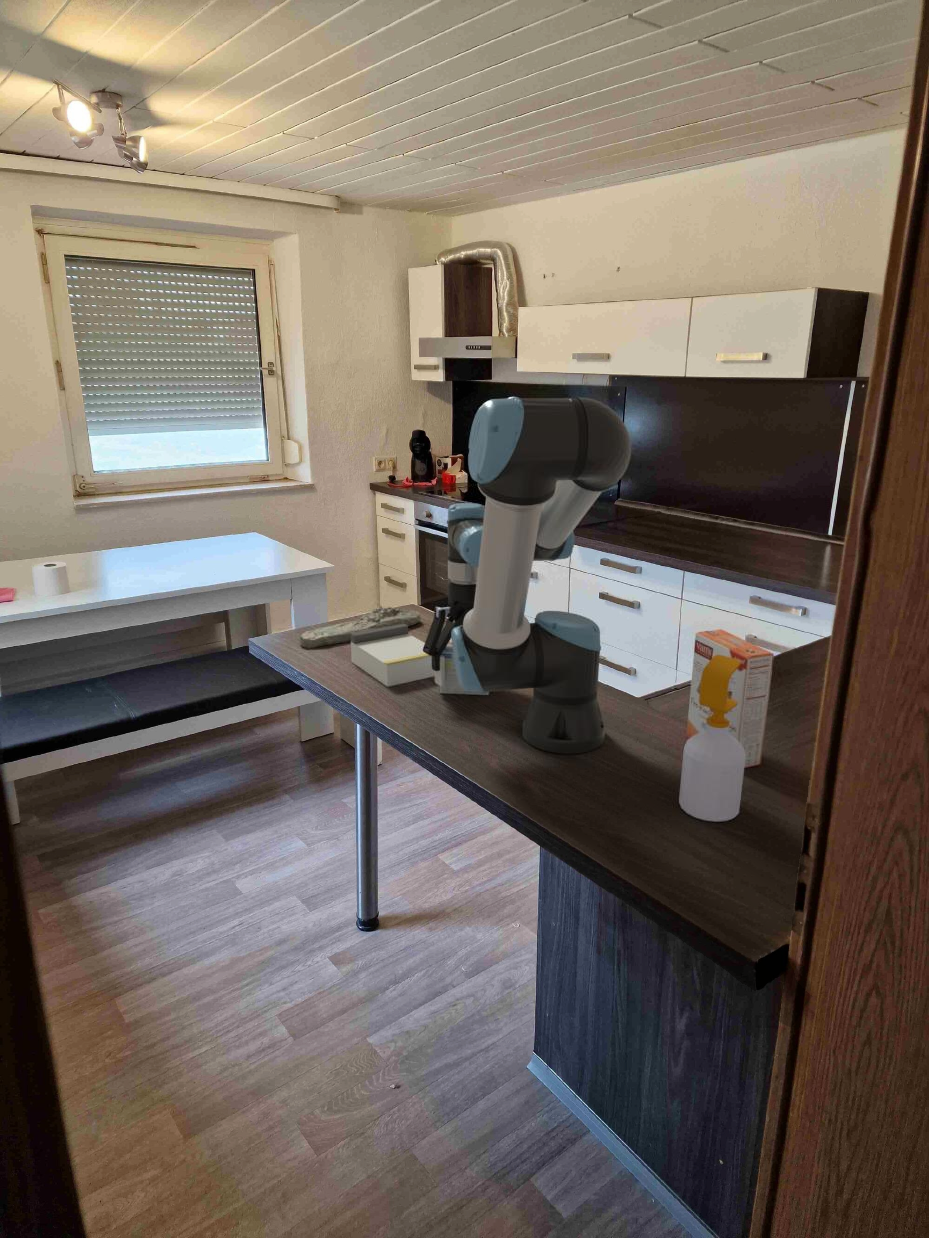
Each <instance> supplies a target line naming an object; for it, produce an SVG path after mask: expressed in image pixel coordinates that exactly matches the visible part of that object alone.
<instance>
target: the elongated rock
mask: <svg viewBox="0 0 929 1238" xmlns="http://www.w3.org/2000/svg"><path fill="white" fill-rule="evenodd" d="M421 617H422V616H421V614H420V612H418V611H416V610H411V609H408V610H407V609H402V608H399V607H392V606H389V607H382V606H381V605H379V606H375V607H374V608H373V609H372V611H371V612H369V613H368V614H367V613H366V614H363V615H362V616H361V617H360V618H358V619H354V620H352V621H351V620H350V621H345V622H341V623H336V624H334V625H329V626H324V627H319V628H315V629H310V630H305V632H303V633H301V635H300V636H299V642H300V643H299V644H300V646H301V647H303V648H305V649H313V648H314V649H315V648H317V647H322V646H328V645H329V646H330V645H337V644H340V643H348V642H351V633H355V632H361V631H366V630H372V629H377V628H383V627H388V626H394V625H399V624H406V625H408V627H410V626H414V625H415V624H416V625H417V623H419V622H421Z"/></svg>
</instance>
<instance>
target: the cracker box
mask: <svg viewBox="0 0 929 1238" xmlns="http://www.w3.org/2000/svg"><path fill="white" fill-rule="evenodd" d="M693 649H694V650H693V659H692V660H693V661H692V671H691V682H690V693H689V705H688V714H687V727H686V738H688V739H689V738H691V737H692V736H694V735H696V734H697V733H700V732H704V731H705V730H706V720H707V718H708V717H710V716H713V712H711V711H710V707H706V706H703V705H700V704H699V695H700V685H701V676H702V672H703V669H704V668H705V666H706V665H707V664H708V663H709V662H710V660H711V659H712V658H713V657H714V656H716V655H722V656H726V657H730V658H734V659H738V660H740V662H741V664H740V666H739V667H738V668H737V669H736V671H735V672H734V673H733V674H732V676H731V678H730V680H729V685H728V693H727V698H728V699H731V700H735V701H737V703H738V704H737V706H735V707H734V708H733V709H731V710H730V711H729V712H728V713H726V714H724V718H726V719H728V720H729V730H728V734H729V735H730V736H732V737H733V738H735V739H736V740H737V741H738V742H739V743H741V745H742V746H743V748H744V750H745V753H746V758H745V766H744V769H748V768H752V767H756V766H757V767H758V766H760V765H761V762H762V755H763V749H764V748H763V746H764V739H765V731H766V723H767V714H768V705H769V700H770V689H771V681H772V674H773V665H774V656H775V654H774V653H772V652H771V651H769V650H766V649H764V648H762V647H760V646H758V645H755V644H753V643H751V642H749V641H748V640H745V639H742V638H741V637H739V636H736V635H734V634H733V633H730V632H728V631H726V630H723V629H721V628H720V629H713V630H704V631H699V632H695V638H694V648H693Z"/></svg>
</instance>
